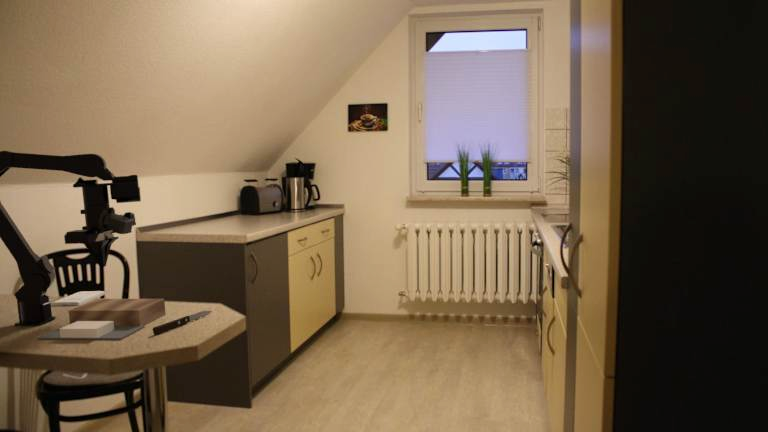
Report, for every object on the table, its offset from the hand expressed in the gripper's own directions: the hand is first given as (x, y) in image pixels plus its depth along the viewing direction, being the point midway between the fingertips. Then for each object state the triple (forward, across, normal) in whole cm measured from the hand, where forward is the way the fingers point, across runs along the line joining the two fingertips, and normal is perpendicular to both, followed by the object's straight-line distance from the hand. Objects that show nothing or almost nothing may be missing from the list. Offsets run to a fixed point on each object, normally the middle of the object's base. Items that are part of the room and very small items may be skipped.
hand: (102, 266), depth 155 cm
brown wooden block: (+12, -6, -8) cm, 16 cm away
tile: (+10, -18, -7) cm, 22 cm away
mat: (+12, -16, -8) cm, 22 cm away
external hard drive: (+13, +14, +19) cm, 27 cm away
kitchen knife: (+12, -9, -26) cm, 30 cm away
